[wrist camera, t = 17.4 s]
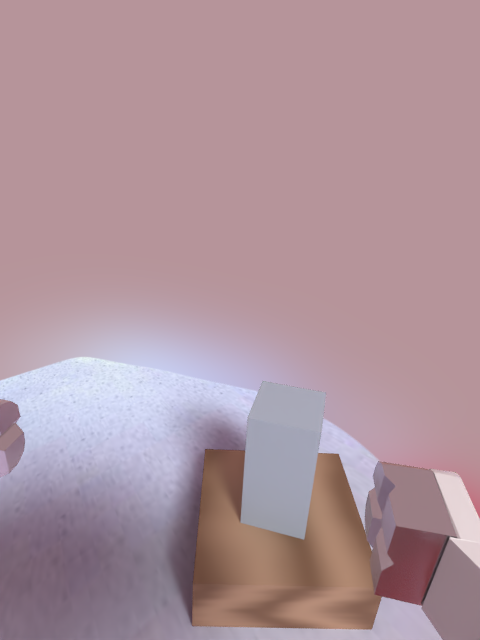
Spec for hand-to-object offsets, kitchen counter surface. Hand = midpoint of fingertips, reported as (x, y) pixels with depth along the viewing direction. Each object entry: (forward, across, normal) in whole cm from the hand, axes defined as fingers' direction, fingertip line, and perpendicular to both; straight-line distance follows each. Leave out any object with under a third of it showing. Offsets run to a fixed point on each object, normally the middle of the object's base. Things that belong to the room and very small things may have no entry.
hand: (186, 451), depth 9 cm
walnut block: (+18, +3, -26) cm, 31 cm away
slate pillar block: (+18, +3, -21) cm, 27 cm away
